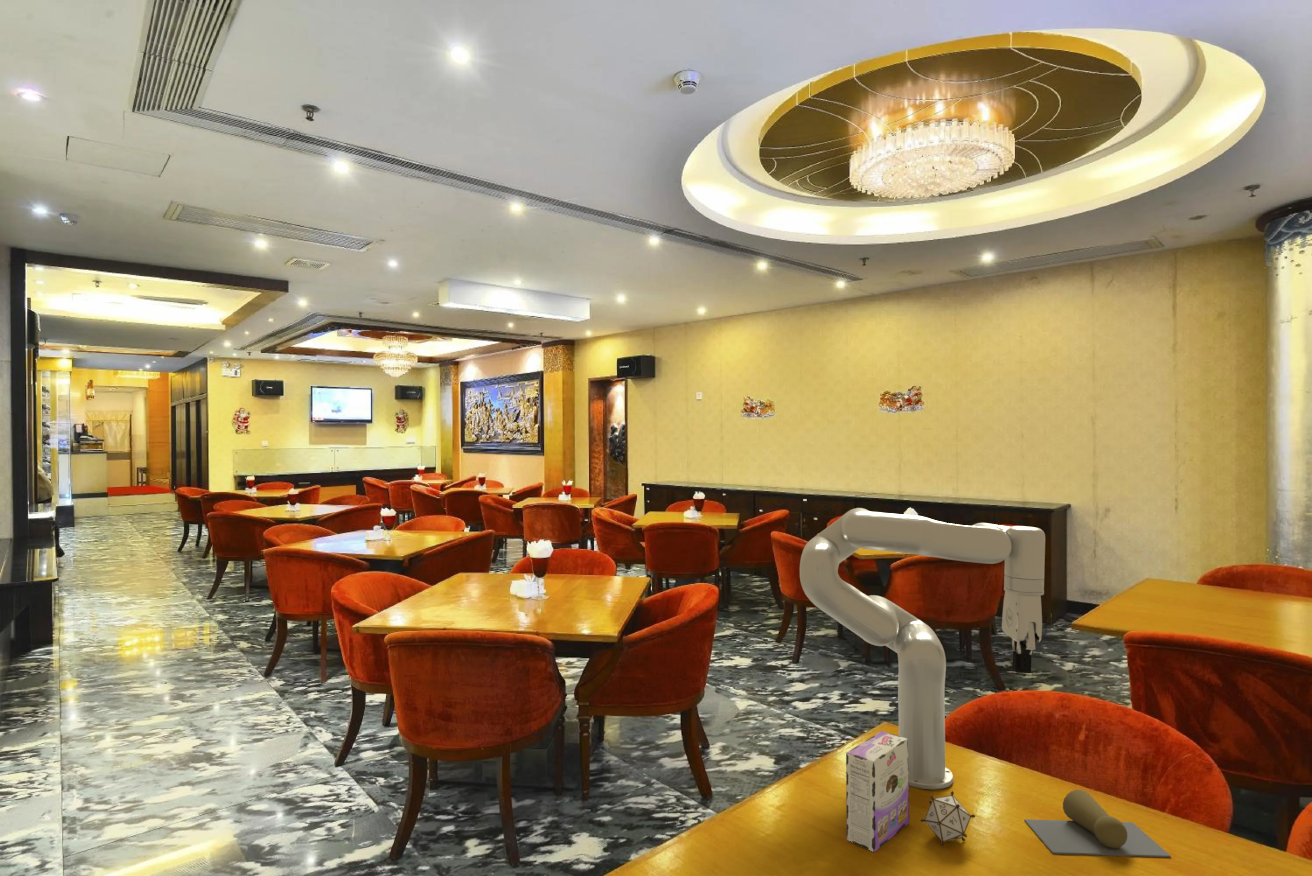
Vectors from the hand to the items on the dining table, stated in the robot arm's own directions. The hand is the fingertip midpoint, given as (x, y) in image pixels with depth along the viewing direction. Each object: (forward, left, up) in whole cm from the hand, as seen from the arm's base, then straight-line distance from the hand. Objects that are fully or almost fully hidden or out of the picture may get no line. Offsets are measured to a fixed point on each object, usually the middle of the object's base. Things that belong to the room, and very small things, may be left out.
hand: (1021, 671), depth 150 cm
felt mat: (+4, -19, -24) cm, 31 cm away
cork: (+4, -13, -21) cm, 26 cm away
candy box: (-35, -19, -25) cm, 47 cm away
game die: (-23, -21, -25) cm, 40 cm away
